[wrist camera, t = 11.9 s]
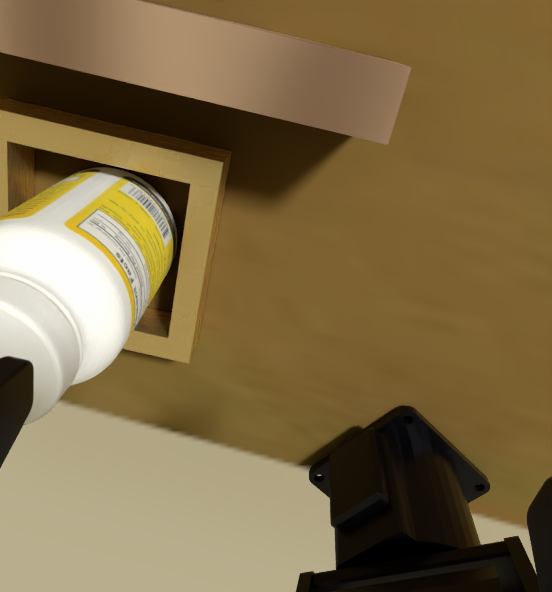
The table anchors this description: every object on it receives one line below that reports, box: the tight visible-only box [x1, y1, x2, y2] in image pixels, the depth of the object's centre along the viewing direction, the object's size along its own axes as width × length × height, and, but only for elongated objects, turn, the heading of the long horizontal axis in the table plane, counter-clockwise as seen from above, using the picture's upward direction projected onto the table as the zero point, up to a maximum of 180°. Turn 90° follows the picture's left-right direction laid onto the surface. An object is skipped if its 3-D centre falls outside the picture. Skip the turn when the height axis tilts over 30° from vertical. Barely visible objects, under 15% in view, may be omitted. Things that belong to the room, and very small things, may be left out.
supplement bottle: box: [0, 167, 177, 425], centre depth 17 cm, size 5×5×10 cm
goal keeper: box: [0, 98, 232, 363], centre depth 21 cm, size 8×8×2 cm
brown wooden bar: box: [0, 0, 412, 145], centre depth 16 cm, size 18×2×5 cm, turn 78°
